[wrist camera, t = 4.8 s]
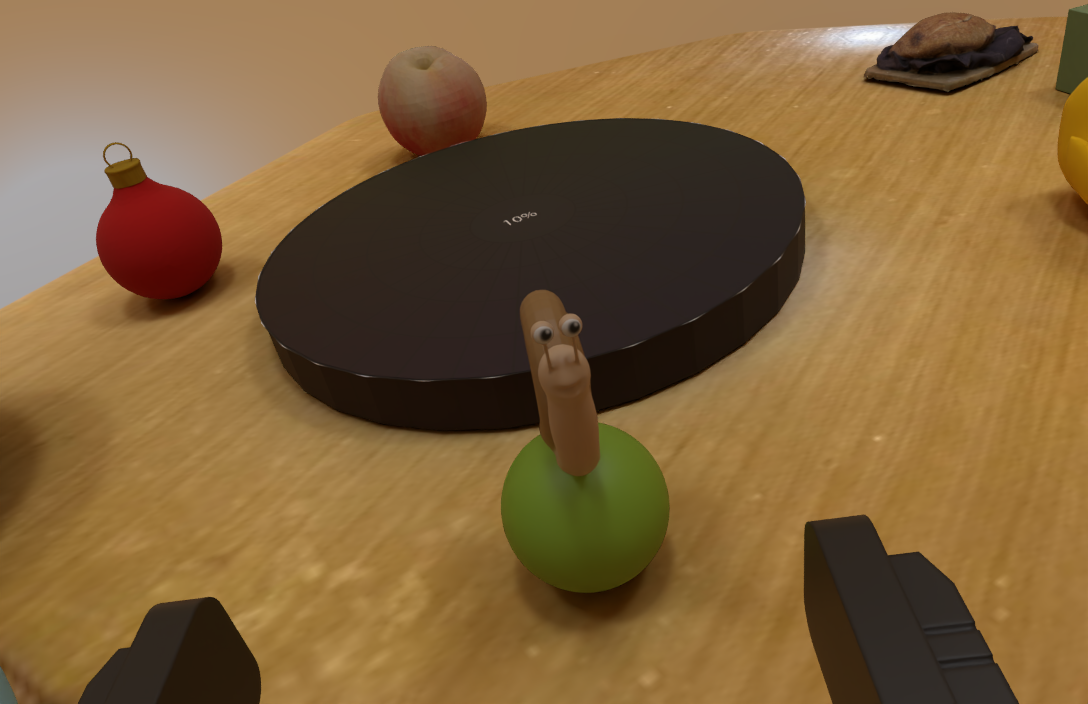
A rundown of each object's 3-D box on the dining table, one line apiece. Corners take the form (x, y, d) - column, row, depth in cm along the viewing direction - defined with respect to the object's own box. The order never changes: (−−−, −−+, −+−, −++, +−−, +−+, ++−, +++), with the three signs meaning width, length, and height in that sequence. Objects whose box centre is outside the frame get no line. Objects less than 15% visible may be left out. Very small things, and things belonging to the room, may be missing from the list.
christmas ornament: (223, 253, 56) (159, 113, 51) (253, 285, 51) (185, 133, 45) (120, 295, 53) (40, 153, 48) (141, 334, 48) (54, 179, 43)
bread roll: (953, 99, 55) (958, 44, 53) (853, 80, 61) (854, 30, 59) (1050, 51, 58) (1059, -3, 56) (946, 38, 65) (951, -11, 63)
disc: (585, 128, 63) (579, 90, 62) (932, 232, 41) (937, 177, 39) (216, 285, 52) (196, 244, 50) (419, 547, 30) (396, 488, 28)
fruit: (417, 181, 60) (386, 75, 56) (384, 156, 67) (354, 58, 62) (510, 147, 63) (487, 42, 58) (470, 125, 69) (447, 29, 65)
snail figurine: (539, 675, 24) (437, 356, 18) (509, 525, 30) (422, 236, 23) (710, 627, 25) (674, 294, 18) (650, 487, 30) (604, 190, 23)
